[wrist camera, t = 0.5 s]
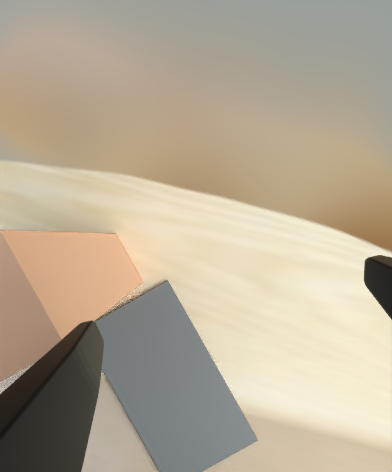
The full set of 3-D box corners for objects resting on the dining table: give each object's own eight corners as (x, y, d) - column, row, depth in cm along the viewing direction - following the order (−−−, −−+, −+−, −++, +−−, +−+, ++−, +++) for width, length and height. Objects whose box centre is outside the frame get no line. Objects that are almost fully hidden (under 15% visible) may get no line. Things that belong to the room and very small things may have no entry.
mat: (256, 437, 24) (257, 440, 23) (170, 486, 24) (169, 489, 23) (167, 280, 24) (167, 281, 24) (81, 329, 24) (80, 330, 24)
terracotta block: (143, 281, 24) (64, 345, 10) (95, 308, 24) (-50, 410, 10) (116, 233, 24) (0, 229, 10) (68, 260, 24) (-115, 294, 10)
